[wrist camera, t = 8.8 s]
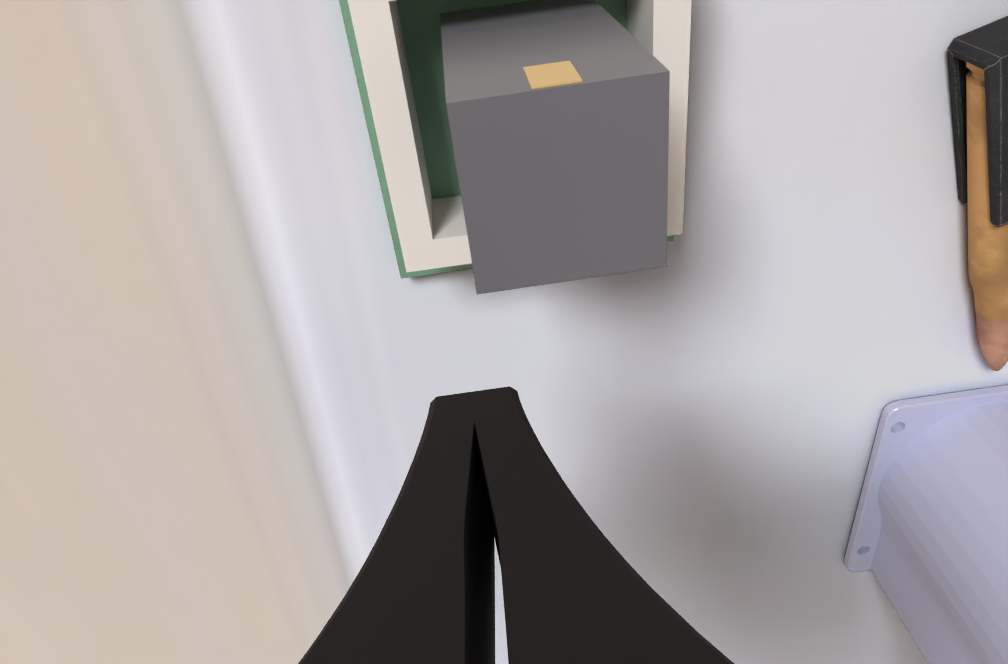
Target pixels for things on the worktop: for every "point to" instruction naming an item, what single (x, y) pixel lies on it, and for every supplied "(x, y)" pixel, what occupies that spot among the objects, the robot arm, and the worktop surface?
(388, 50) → the board
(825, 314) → the worktop surface
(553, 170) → the plug
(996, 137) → the ammunition clip
